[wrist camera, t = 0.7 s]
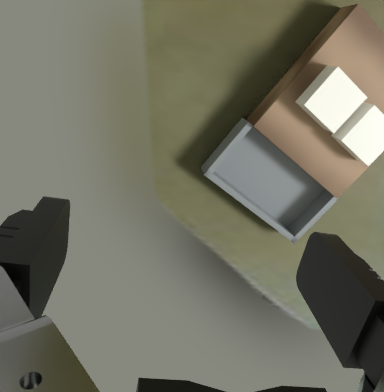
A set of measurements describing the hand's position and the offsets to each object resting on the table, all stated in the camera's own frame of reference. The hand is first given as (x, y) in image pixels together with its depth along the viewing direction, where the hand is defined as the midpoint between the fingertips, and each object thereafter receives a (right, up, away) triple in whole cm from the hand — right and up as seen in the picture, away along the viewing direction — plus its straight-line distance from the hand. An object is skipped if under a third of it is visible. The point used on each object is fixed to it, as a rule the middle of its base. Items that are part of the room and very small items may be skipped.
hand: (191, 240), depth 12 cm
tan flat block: (+14, +11, +24) cm, 30 cm away
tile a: (+12, +10, +21) cm, 26 cm away
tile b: (+16, +8, +22) cm, 28 cm away
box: (+8, +3, +26) cm, 28 cm away
